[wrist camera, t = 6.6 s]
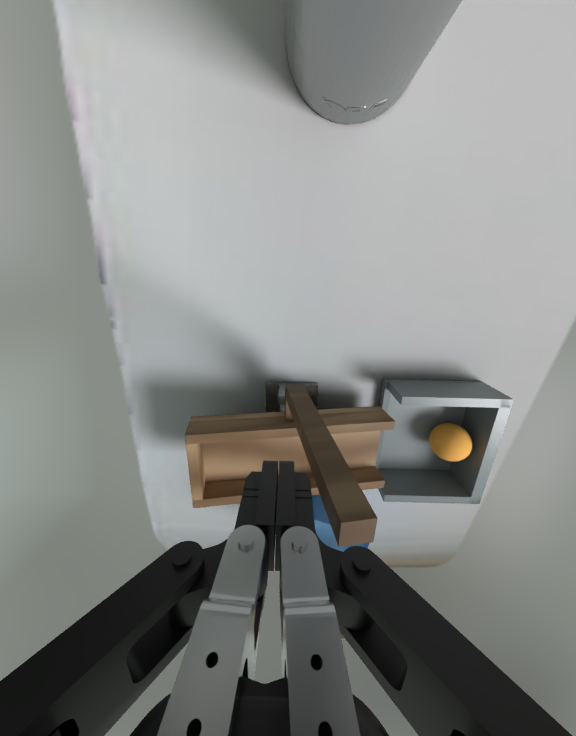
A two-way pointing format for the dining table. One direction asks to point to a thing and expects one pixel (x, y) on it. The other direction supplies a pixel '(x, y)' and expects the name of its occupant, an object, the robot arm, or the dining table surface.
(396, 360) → the dining table surface
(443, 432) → the ball
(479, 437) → the tray
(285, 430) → the lever
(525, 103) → the dining table surface
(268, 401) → the fulcrum
